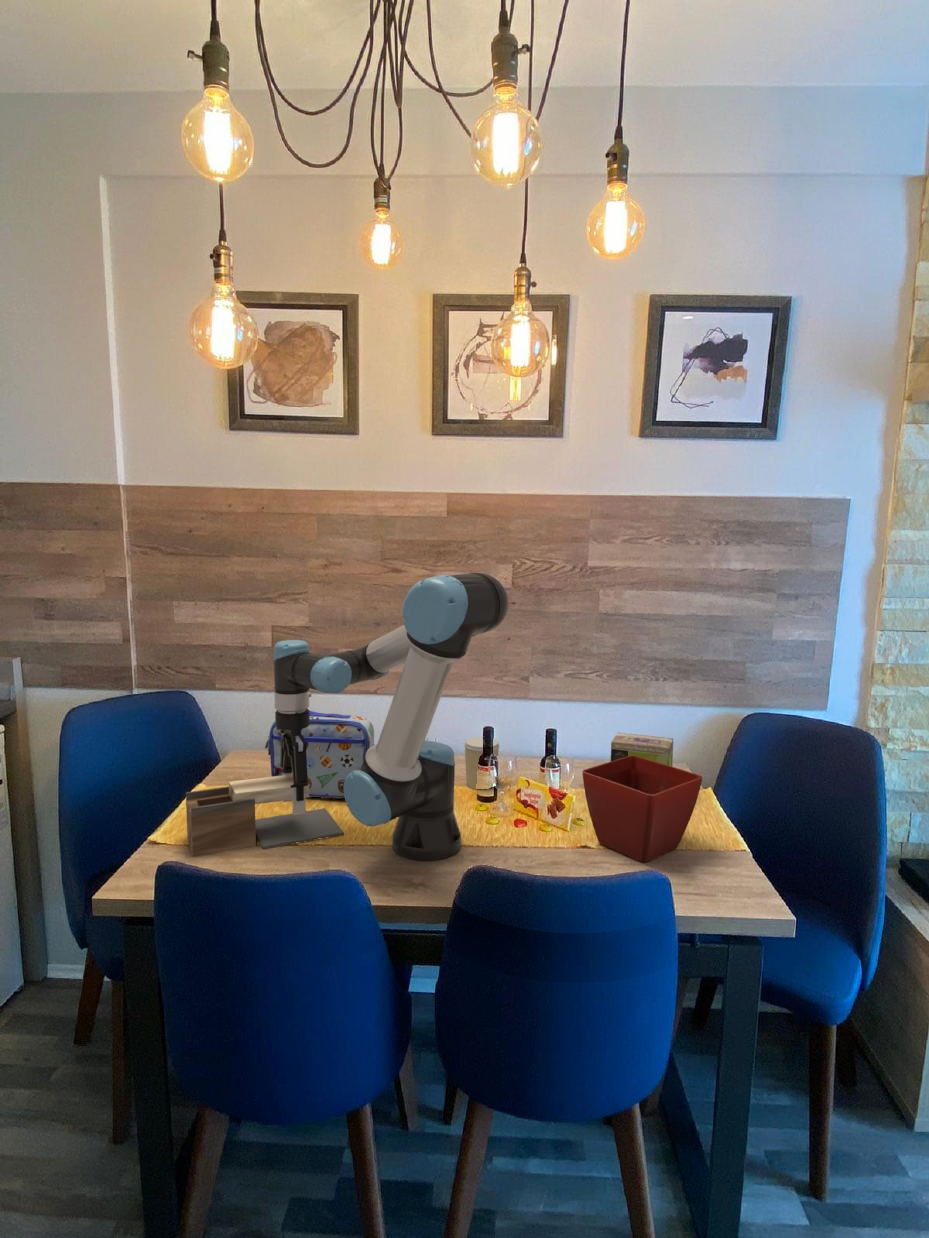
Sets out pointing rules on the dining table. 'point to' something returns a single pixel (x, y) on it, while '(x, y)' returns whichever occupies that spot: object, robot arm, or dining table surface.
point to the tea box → (642, 747)
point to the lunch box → (328, 751)
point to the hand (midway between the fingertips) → (294, 806)
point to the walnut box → (219, 821)
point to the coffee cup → (475, 758)
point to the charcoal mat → (295, 828)
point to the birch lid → (264, 789)
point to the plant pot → (640, 805)
